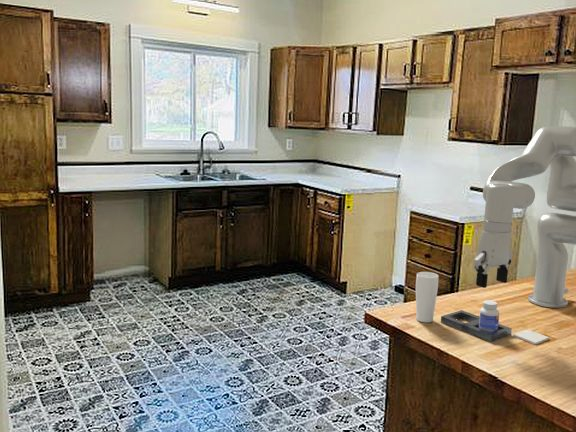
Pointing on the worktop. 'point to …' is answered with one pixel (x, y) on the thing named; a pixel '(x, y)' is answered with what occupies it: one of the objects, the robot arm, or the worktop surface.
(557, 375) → the worktop surface
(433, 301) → the drinking glass
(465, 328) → the grey double square frame
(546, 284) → the robot arm
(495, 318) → the pill bottle
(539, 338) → the tile
